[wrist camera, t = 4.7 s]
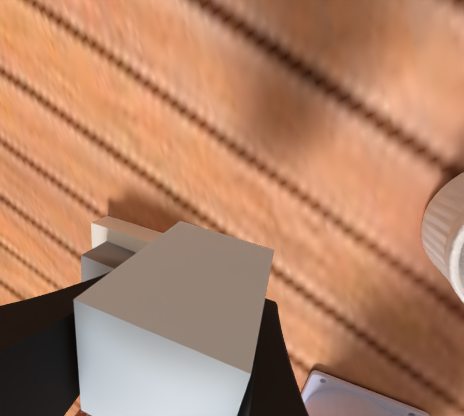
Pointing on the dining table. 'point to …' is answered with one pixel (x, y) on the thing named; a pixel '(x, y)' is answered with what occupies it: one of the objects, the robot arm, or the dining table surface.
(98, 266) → the gray slab
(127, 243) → the base slab
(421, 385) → the dining table surface
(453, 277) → the ramekin
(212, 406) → the gray block
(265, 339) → the robot arm
